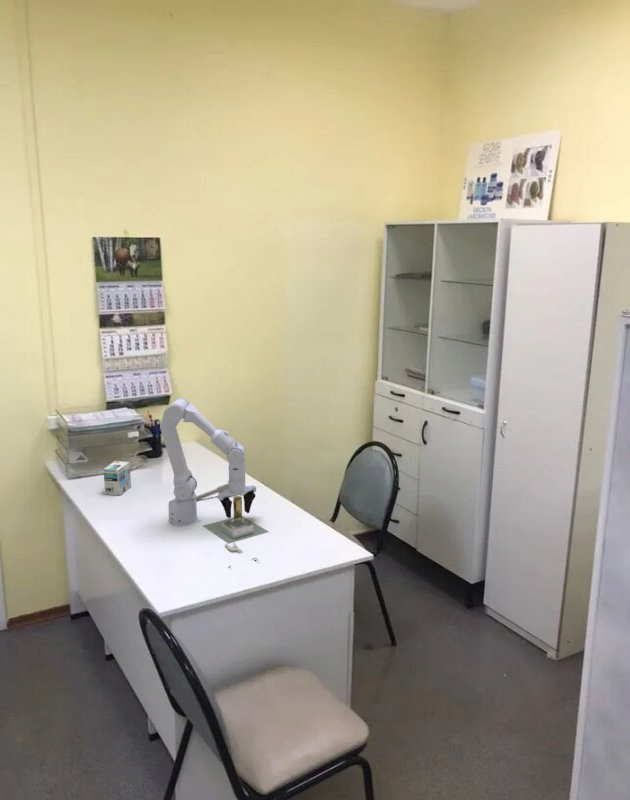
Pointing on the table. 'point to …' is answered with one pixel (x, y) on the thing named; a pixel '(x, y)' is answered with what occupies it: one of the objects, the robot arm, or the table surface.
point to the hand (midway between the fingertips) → (237, 514)
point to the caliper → (214, 491)
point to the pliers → (235, 550)
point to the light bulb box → (117, 478)
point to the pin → (237, 506)
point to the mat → (217, 531)
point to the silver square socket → (237, 528)
